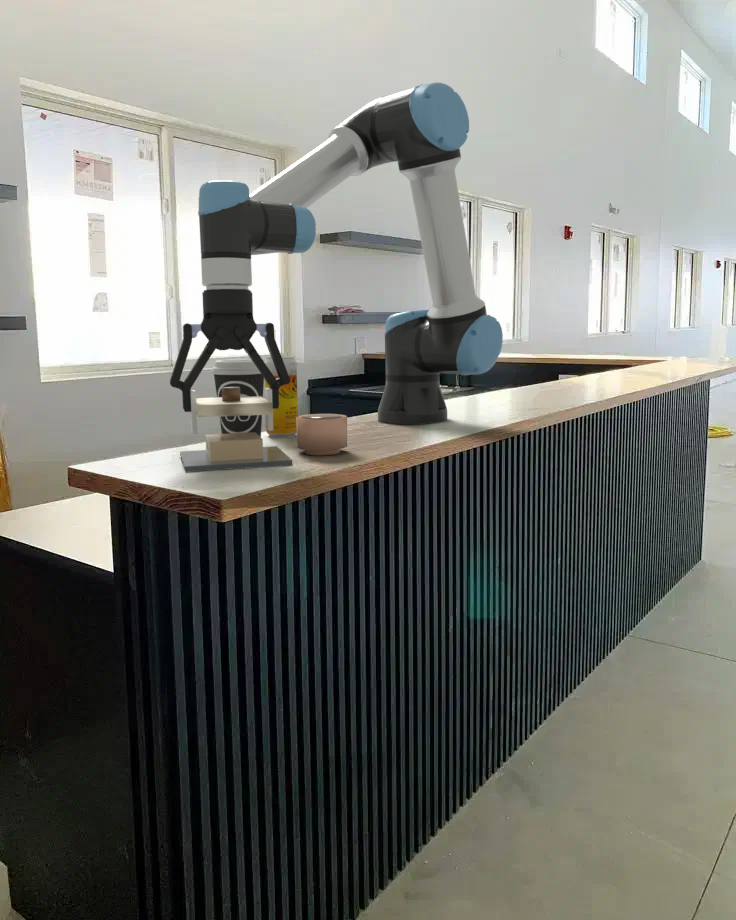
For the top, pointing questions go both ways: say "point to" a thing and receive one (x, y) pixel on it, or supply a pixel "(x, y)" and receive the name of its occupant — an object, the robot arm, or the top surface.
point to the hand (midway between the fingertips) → (232, 431)
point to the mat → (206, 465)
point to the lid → (232, 404)
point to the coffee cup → (250, 385)
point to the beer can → (285, 400)
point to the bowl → (321, 433)
